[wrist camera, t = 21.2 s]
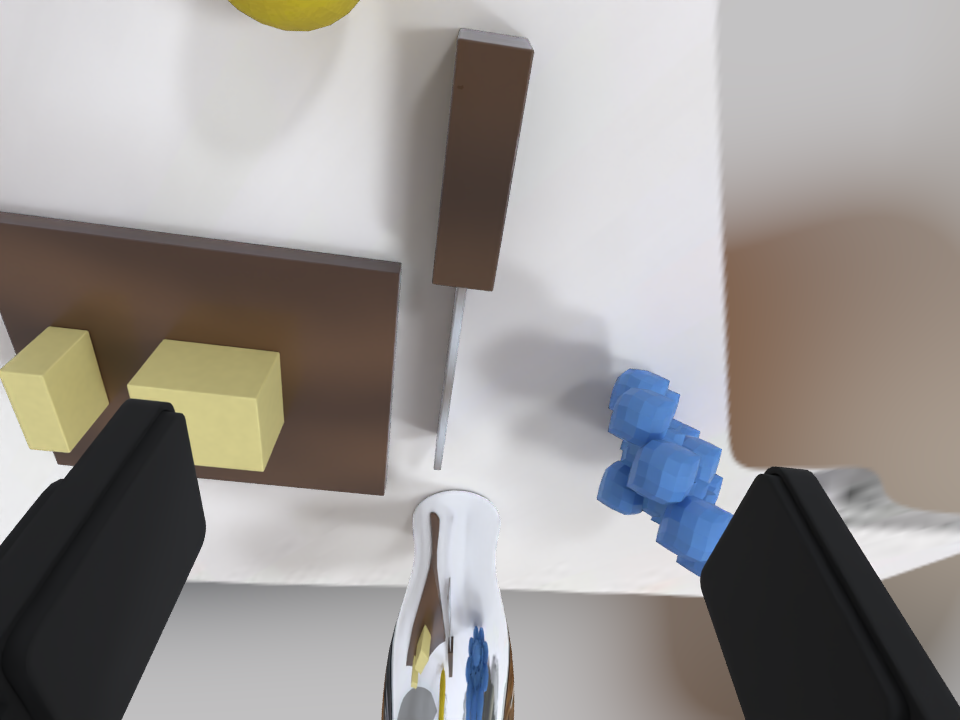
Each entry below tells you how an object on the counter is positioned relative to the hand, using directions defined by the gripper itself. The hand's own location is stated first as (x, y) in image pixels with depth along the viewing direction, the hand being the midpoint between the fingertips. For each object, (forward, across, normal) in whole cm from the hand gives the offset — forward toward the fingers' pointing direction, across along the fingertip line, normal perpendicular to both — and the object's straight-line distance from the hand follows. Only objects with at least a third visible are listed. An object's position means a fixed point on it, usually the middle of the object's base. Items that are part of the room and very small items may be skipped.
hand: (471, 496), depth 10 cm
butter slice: (+19, +20, +14) cm, 31 cm away
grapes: (+20, -11, +13) cm, 27 cm away
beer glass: (+20, -2, +25) cm, 32 cm away
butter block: (+19, +12, +14) cm, 27 cm away
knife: (+20, 0, +6) cm, 21 cm away
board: (+20, +13, +14) cm, 28 cm away
